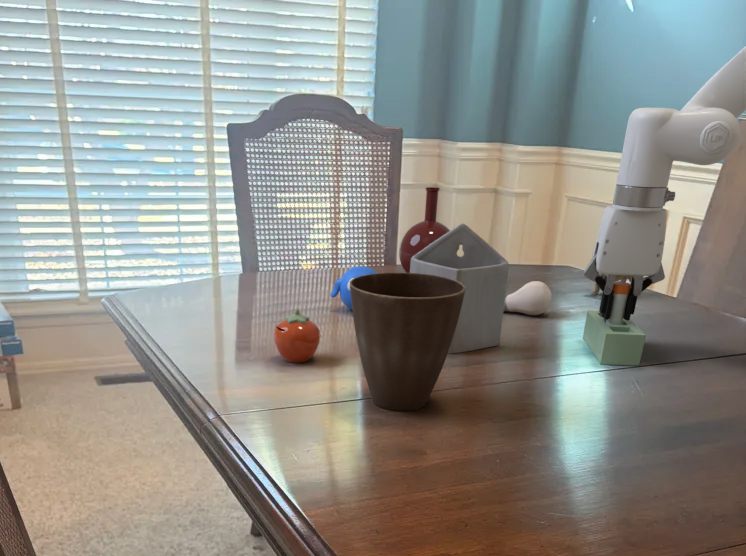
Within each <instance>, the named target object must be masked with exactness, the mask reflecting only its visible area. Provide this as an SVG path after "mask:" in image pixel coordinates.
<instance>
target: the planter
mask: <svg viewBox="0 0 746 556" xmlns="http://www.w3.org/2000/svg"><path fill="white" fill-rule="evenodd" d="M460 246H462V249H461V250H462V252H463V255H461V256H459V255H458V251H459V250H460ZM509 265H510V264H509V261H508V260H507V259H506V258H505V257H504V256H503V255H502V254H500V253H499V252H498V250H496V249H495V248H494V247H493V246H492V245H490V244H489V243H488V242H487V241H486V240H484V238H483V237H481V236H480V235H479V234H478V233H477V232H475V230H473V229H472V228H470V227H469V226H468V225H467V224H466V223H460V224H458V225H457V226H455V227H454V228H452V229H450V231H449V232H448V233H446V234H445V235H443V236H442V237H440V238H439V239H437V240H436V241H434V242H433V243H431V244H430V245H428V246H427V247H425V248H424V249H423V250H421V251H420V252H418V253H417V254H415V255H414V256H413V257H412V258H411V264H410V273H420V274H429V275H436V276H441V277H446V278H450V279H453V280H456V281H459V282H461V283H463V284H464V285H465V287H466V290H465V294H464V299H463V303H462V307H461V311H460V315H459V319H458V323H457V326H456V330H455V333H454V336H453V339H452V342H451V345H450V348H449V351H448V354H447V355H454V354H459V353H460V354H461V353H466V352H472V351H478V350H483V349H487V348H493V347H497V346H499V345H500V343H501V342H500V341H501V334H502V333H501V332H502V325H503V319H504V318H503V316H504V312H503V310H504V301H505V297H506V293H507V285H508V278H509V277H508V276H509V268H510V267H509Z"/></svg>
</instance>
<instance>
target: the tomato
mask: <svg viewBox="0 0 746 556" xmlns="http://www.w3.org/2000/svg"><path fill="white" fill-rule="evenodd" d="M273 341H274V344H275V348H276V349H277V351H278V352H279V354H280V356H281V357H282V358H283V359H284V360H285V361H286V362H287V363H294V364H299V363H305V362H307V361H309V360H310V359H311V358H313V356H314V355H315V353H316V352H317V350H318V347H319V344H320V342H321V331H320V328H319V326H318V325H317V324H316V323H315V322H313V321H311V320H310V317H309V316H306V315H304V314H301V312H300V309H298V308H296V309H294V310H293V314H289V315H287V316H285V317H284V318H283V320H282V321H280V322H278V323H277V325H276V326H275V327H274V330H273Z"/></svg>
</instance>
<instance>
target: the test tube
mask: <svg viewBox="0 0 746 556" xmlns="http://www.w3.org/2000/svg"><path fill="white" fill-rule="evenodd" d="M630 287H631V283H630V282H626V283H624V282H621V281H620V282H619V281H616V282H614V284H613V288H612V291H613V292H612V295H613V296H614V299H613V304H612V309H611V314H610V319H608V320H606V324H614V325H622V323H623V318H624V313H625V308H626V303H627V298H628V294H629V292H630Z"/></svg>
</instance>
